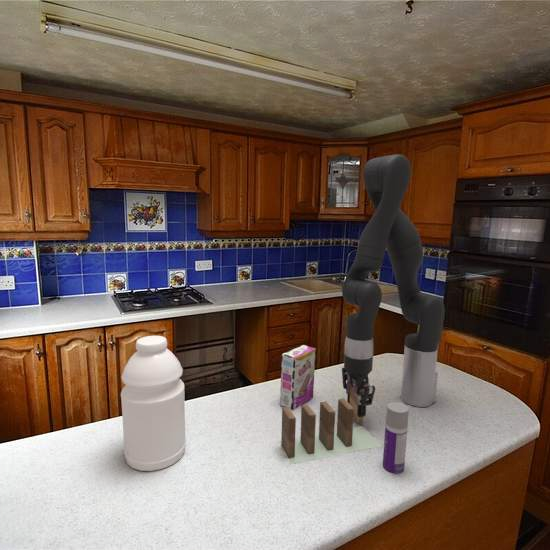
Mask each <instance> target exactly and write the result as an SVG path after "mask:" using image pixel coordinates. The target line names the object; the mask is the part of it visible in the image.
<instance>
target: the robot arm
mask: <svg viewBox="0 0 550 550" xmlns="http://www.w3.org/2000/svg"><path fill="white" fill-rule="evenodd" d="M411 176H412V165H411V163H410V161H409V159H408V158H407V157H406V156H405V155H403V154H392V155H384V156H381V157H380V156H379V157H374V158H372V159H369V160H368V161H367V162H366V163H365V164H364V166H363V172H362V178H363V183H364V187H365V190H366V193H367V194H368V197H369V200H370V202H371V204H372V207H373V209H374V213H373V215H372V217H371V218H370V219H369V221H368V222H367V224H366V225H365V227H364V229H363V230H362V232H361V234H360V237H359V240H358V244H357V249H356V253H355V258H354V261H353V263H352V265H351V267H350V269H349V270H348V272H347V274H346V277H345V278H344V280H343V283H342V286H341V296H342V297H343V300H344V302H346V303H347V304H350V305H354V306H357V307H359V309H358V313H357V312H356V313H351V314H349V315H347V319H346V326H345V327H346V330H345V332H346V333H345V341H344V355H343V356H344V357H343V367H342V368H341V376H342V378H341V379H342V388H343V389H344V390H345V393H346V394H347V396H346V397H347V400H346V401H347V402H348V403H349V401H350V389H351V386H352V387H354V390H355V395H356V396H357V400H358V406H357V416H358V417H363V418H364V417H365V416H366V414H367V406H371V405H372V404H373V400H374V397H375V391H376V386H375V385H371V384H370V383H369V382H370V381H369V375H370V373H372V371H373V363H374V360H373V359H374V324H375V320H376V317H377V315H378V311H379V310H380V306H381V303H382V299H383V292H382V289H381V287H380V285H379V284H378V283H377V282H374V281H371V280H367V278H368V276H369V275H370V274H371V273H376V272H379V271H380V270H381V269H382V266H383V261H384V257H385V253H386V252H387V254H388V257H389V261H390V264H391V268H392V271H393V275H394V279H395V282H396V288H397V292H398V298H399V305H400V309H401V313H402V316H403V317H404V319H405V320H406V321H408V322H410V323H412V324H415V325H418V326H419V327H418V331H417V333H410V334H407V335H406V336H405V338H404V339H405V340H404V352H403V364H402V377H401V390H400V400H402V401H403V402H404V403H406V404H408V405H410V406H413V407H416V408H417V407H419V408H427V407H430V406H432V405H433V403H436V398H437V388H438V387H437V385H438V377H439V375H438V372H437V371H436V368H437V357H438V356H437V355H438V349H439V348H438V347H439V343H440V341H441V338H442V334H443V326H444V320H445V312H446V311H445V305H444V302H443V300H442V299H440V298H439V297H436V296H432V295H428V294H424V293H422V292H421V290H420V286H419V282H418V273H419V270H420V268H421V265H422V263H423V260H424V249H423V244H422V242H421V241H422V240H421V236H420V233H419V231H418V230H417V228H416V226H415V225H414V223H413V222H412V221H411V220H410V219H409V217H407V215H406V214H405V213H404V212H403V210H402V209H401V205H402V202H403V199H404V197H405V194H406V192H407V190H408V187H409V184H410V181H411ZM350 384H351V385H350ZM359 389H360V390H362V389H363V391H364V392H361V393H359V391H358V390H359ZM362 395H363V397H362V400H361V396H362Z"/></svg>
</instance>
